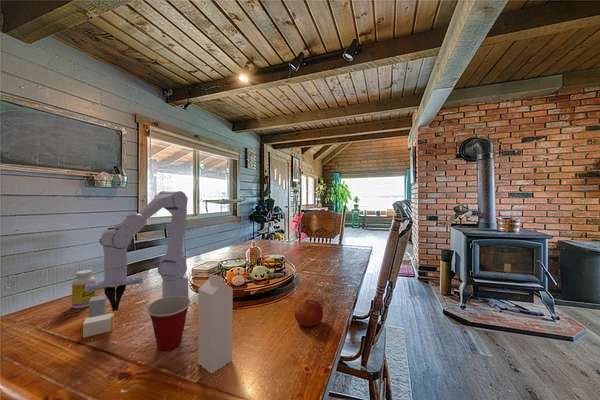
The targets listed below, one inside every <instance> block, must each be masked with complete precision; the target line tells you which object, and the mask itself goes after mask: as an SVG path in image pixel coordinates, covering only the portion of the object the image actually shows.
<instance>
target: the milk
mask: <svg viewBox="0 0 600 400" xmlns="http://www.w3.org/2000/svg"><path fill="white" fill-rule="evenodd" d="M233 288H234V287H232V286H231V285H230V286H229V285H227V284H224V278H223V277H221V276H218V275H216V274H212V273H209V274H208V279H207V280H206V281H205V282H204V283H203V284H202V285H201V286H200V287H199V288H198V290H197V291H198V293H197V296H198V297H197V298H198V299H197V301H198V302H197V305H198V306H197V313H198V314H197V364H198V365H199V366H200V365H201V366H202V367H201V366H200V367H201V368H202V369H204V368H205V369H206V370H207V371H206V372H208V373H209V372H210V373H211V374H210V373H209V374H210V375H213V374H214V373H216V372H217V370H218V369H219V370H221V369H222V368H224V367H226V366H227V365H228V364H230V363H231V362H232V361H233V296H234V294H233V291H234V289H233ZM229 362H230V363H229ZM227 363H228V364H227ZM226 364H227V365H226ZM223 366H224V367H223ZM220 368H221V369H220ZM205 369H204V370H205ZM219 370H218V371H219ZM215 371H216V372H215ZM212 373H213V374H212Z"/></svg>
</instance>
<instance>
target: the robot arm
mask: <svg viewBox="0 0 600 400" xmlns="http://www.w3.org/2000/svg"><path fill="white" fill-rule="evenodd" d="M188 199H189V197H188V196H187V195H186V194H185V192H184V191H181V190H177V191H173V190H172V191H170V190H169V191H167V190H162V191H159V192H158V193H157V194H155V195H154V198H153V199H152V200H151V201H150V202H149V203H147V204H146V205H145V206H144V207H143V208H142V209H141V210H140V211H139V212H138V213H136V212H135V213H133V212H132V213H131V214H130V213H129V214H127V215H126V216H125V217H126V218H125V219H124V220H122V221H121V222H120V223H118V224H115V225H114V227H113V229H111V228H110V229H107V230H105V231H104V232H103V234H102V235H101V237H100V238H98V242H99V244H100V246H102V249H103V257H104V260H103V262H104V263H103V265H104V267H103V271H104V272H103V280H101V281H95V283H91V284H86V285H85V292H90V291H94V290H95V291H98V290H99V291H100V290H104V291H103V292H104V295H106V299H108V301H109V303H110V306H111V311H112V312H116V311H119V306H120V302H121V299H122V297H123V295H124V293H125V291H126V289H127V288H126V287H127V286H131V285H137V284H138V285H143V283H144V279H143V278H144V277H143V276H142V275H141V276H131V277H130V276H128V275H127V273H128V269H127V267H128V263H127V262H128V261H127V260H128V256H127V255H128V246H130V245H131V243H132V239H133V237H134V236H135V235H137V233H138V232H140V231H141V230H142V229H143V228H144V227H145V226H146V225H147V220H148V219H150V218H152V216H154V215H155V214H156V213H158V212H159V211H160V210H162V209H165V210H166V211H168V212H169V213H170V214H171V220H170V227H169V234H168V240H167V248H166V253H165V254H164V255H163V256H162V257H161V259H160V263H159V265H158V266H157V273H158V275H160V278H161V279H162V282H161V283H162V291H161V294H162V295H161V296H160V299H161V298H164V297H168V296H178V295H180V296H186V297H188V298H189V291H190V290H189V276H188V275H186V273H187V271H188V265H187V258H186V256H184V255H183V245H184V238H185V230H186V222H187V214H188V210H187V209H188V208H187V207H188V201H189V200H188Z"/></svg>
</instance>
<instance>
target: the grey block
mask: <svg viewBox="0 0 600 400" xmlns="http://www.w3.org/2000/svg"><path fill="white" fill-rule="evenodd" d="M88 314H89V315H88V318H91V317H96V316H101V315H106V314H107V296H106V295H105V294H104V295H99V296H98V295H97V296H95V297H91V299H90V301H89V306H88Z"/></svg>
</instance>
